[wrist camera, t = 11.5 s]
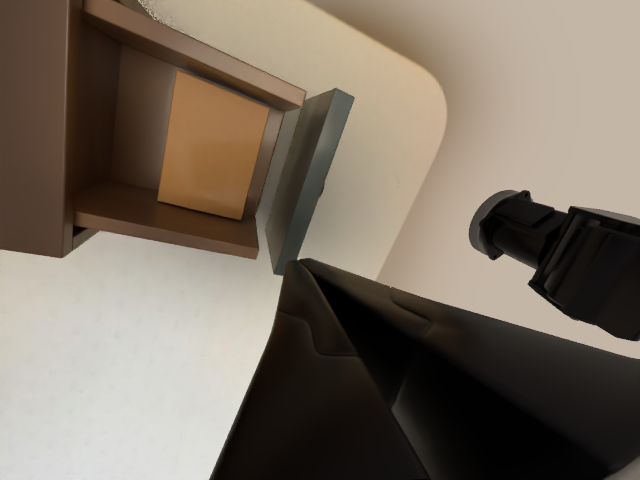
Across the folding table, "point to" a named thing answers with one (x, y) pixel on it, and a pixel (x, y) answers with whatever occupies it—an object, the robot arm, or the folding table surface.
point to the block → (210, 147)
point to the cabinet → (40, 124)
